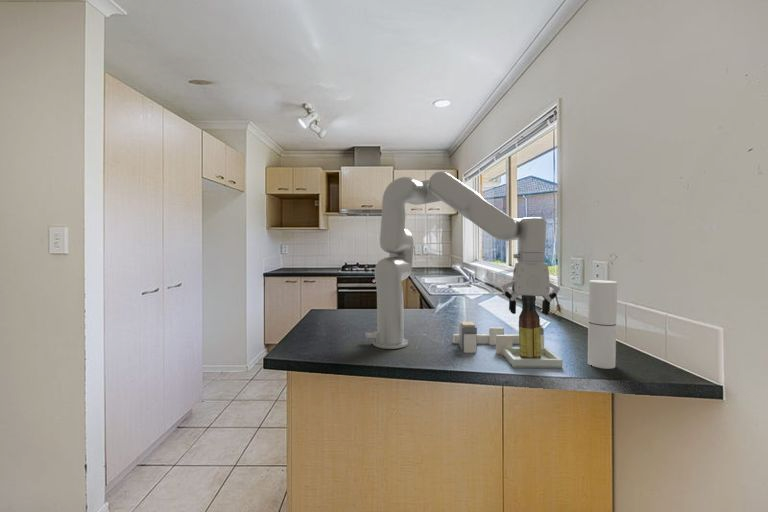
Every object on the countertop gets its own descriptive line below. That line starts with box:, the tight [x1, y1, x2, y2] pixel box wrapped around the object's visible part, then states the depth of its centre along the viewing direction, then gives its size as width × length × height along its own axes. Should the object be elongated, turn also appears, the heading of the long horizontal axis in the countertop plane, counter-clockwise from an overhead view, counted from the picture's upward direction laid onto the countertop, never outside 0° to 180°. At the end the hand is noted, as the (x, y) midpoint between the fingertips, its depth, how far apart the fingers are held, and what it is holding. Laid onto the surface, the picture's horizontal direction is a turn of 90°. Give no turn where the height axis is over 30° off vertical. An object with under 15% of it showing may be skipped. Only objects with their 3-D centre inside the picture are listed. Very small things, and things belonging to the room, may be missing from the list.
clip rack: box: [452, 321, 545, 357], centre depth 125 cm, size 30×15×9 cm, turn 87°
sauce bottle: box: [518, 295, 541, 359], centre depth 112 cm, size 7×6×20 cm
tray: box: [502, 347, 563, 370], centre depth 112 cm, size 14×12×2 cm
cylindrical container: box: [587, 279, 618, 370], centre depth 108 cm, size 7×7×25 cm
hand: (528, 313), depth 112 cm, fingers open, 9 cm apart
